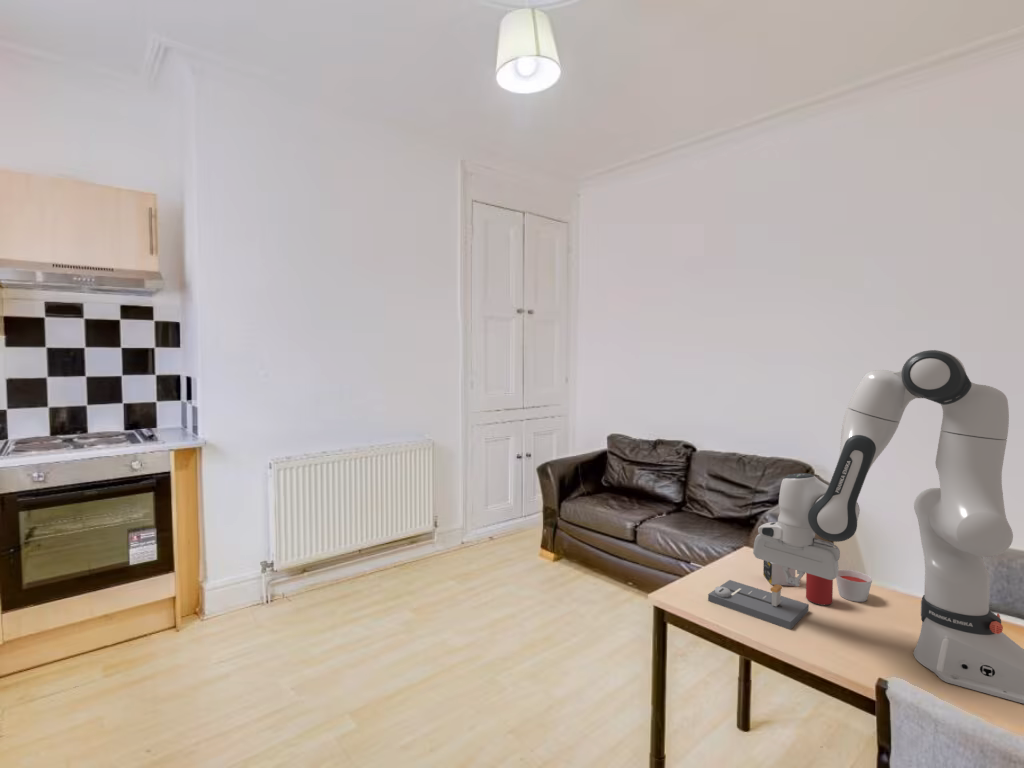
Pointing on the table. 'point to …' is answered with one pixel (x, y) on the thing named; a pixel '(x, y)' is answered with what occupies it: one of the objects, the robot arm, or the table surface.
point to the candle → (853, 585)
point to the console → (758, 604)
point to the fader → (776, 594)
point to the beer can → (819, 589)
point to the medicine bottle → (776, 574)
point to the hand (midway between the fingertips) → (792, 584)
